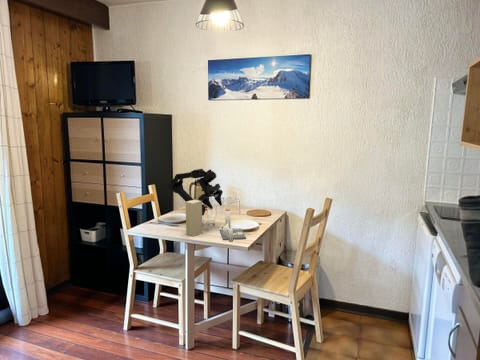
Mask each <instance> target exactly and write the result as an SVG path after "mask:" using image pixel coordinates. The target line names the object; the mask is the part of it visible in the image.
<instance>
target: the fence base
mask: <svg viewBox="0 0 480 360" xmlns="http://www.w3.org/2000/svg"><path fill="white" fill-rule="evenodd" d="M233 229H234V228H232V227H231V228H229V226H228V225H223V227H222V230H223V236H225V237H227V238H228V240H227V241H228V242H230V243H231V242H233V241H234V240H233Z"/></svg>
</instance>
